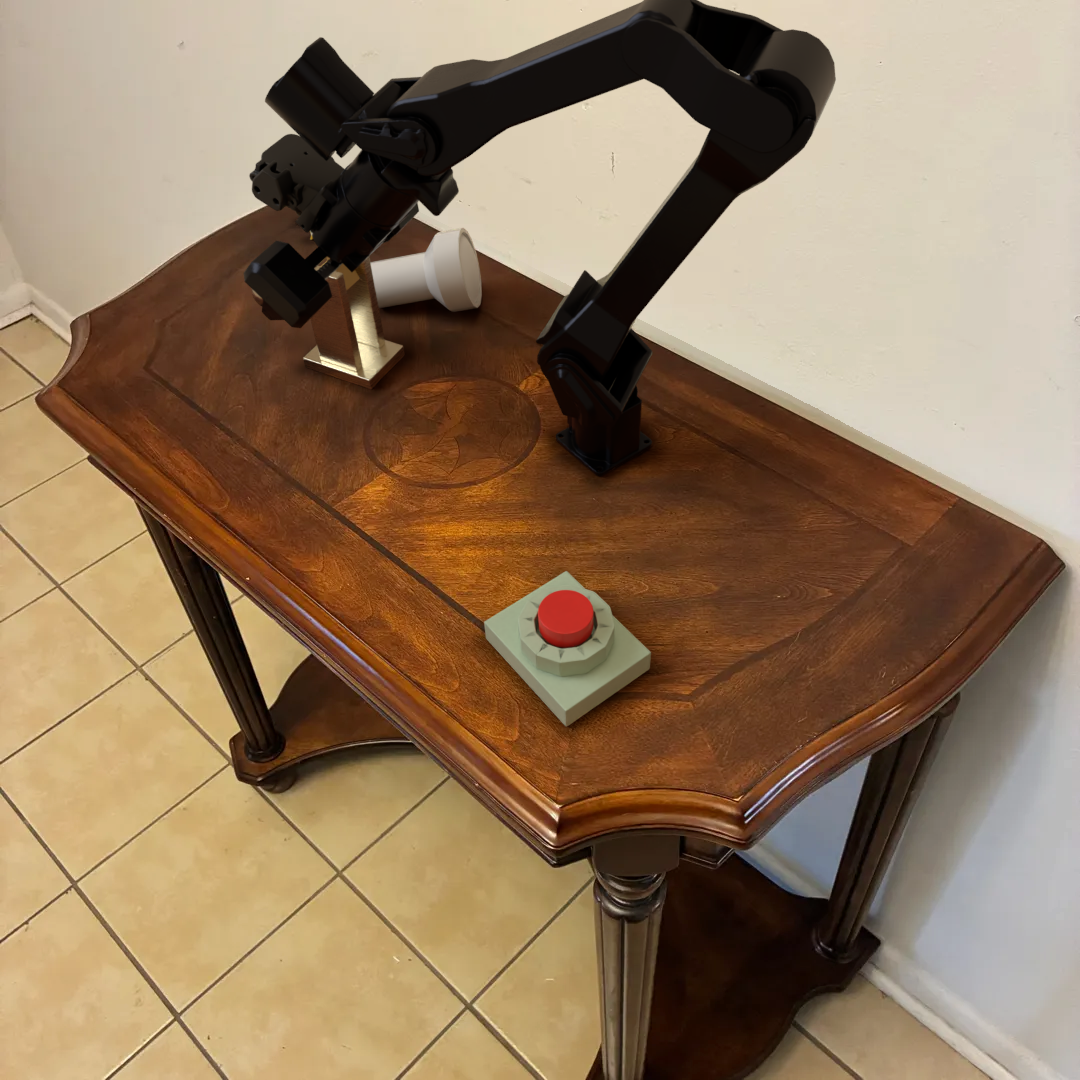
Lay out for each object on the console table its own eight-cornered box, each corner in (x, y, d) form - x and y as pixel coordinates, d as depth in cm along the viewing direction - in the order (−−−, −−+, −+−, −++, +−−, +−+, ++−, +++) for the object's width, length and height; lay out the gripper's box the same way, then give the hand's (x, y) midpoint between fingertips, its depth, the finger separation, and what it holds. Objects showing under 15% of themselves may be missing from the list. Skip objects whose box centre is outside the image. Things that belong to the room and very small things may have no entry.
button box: (650, 669, 74) (652, 637, 71) (566, 727, 71) (565, 697, 68) (566, 587, 79) (566, 555, 76) (485, 638, 76) (481, 607, 73)
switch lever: (258, 318, 99) (237, 287, 97) (280, 299, 101) (260, 267, 99) (345, 300, 91) (324, 265, 89) (367, 280, 93) (347, 245, 91)
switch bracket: (305, 367, 99) (277, 264, 90) (340, 334, 102) (317, 232, 93) (371, 390, 96) (350, 286, 87) (405, 354, 100) (387, 252, 91)
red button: (604, 629, 72) (604, 614, 71) (561, 657, 71) (561, 643, 69) (570, 595, 74) (570, 580, 73) (527, 622, 73) (526, 607, 71)
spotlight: (480, 320, 101) (459, 244, 96) (375, 337, 103) (350, 265, 98) (490, 287, 107) (471, 214, 102) (392, 304, 109) (368, 234, 105)
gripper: (364, 66, 83) (292, 170, 95) (225, 172, 72) (164, 274, 84) (458, 169, 86) (377, 257, 98) (339, 285, 75) (264, 368, 87)
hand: (299, 285), depth 92 cm, fingers open, 9 cm apart
